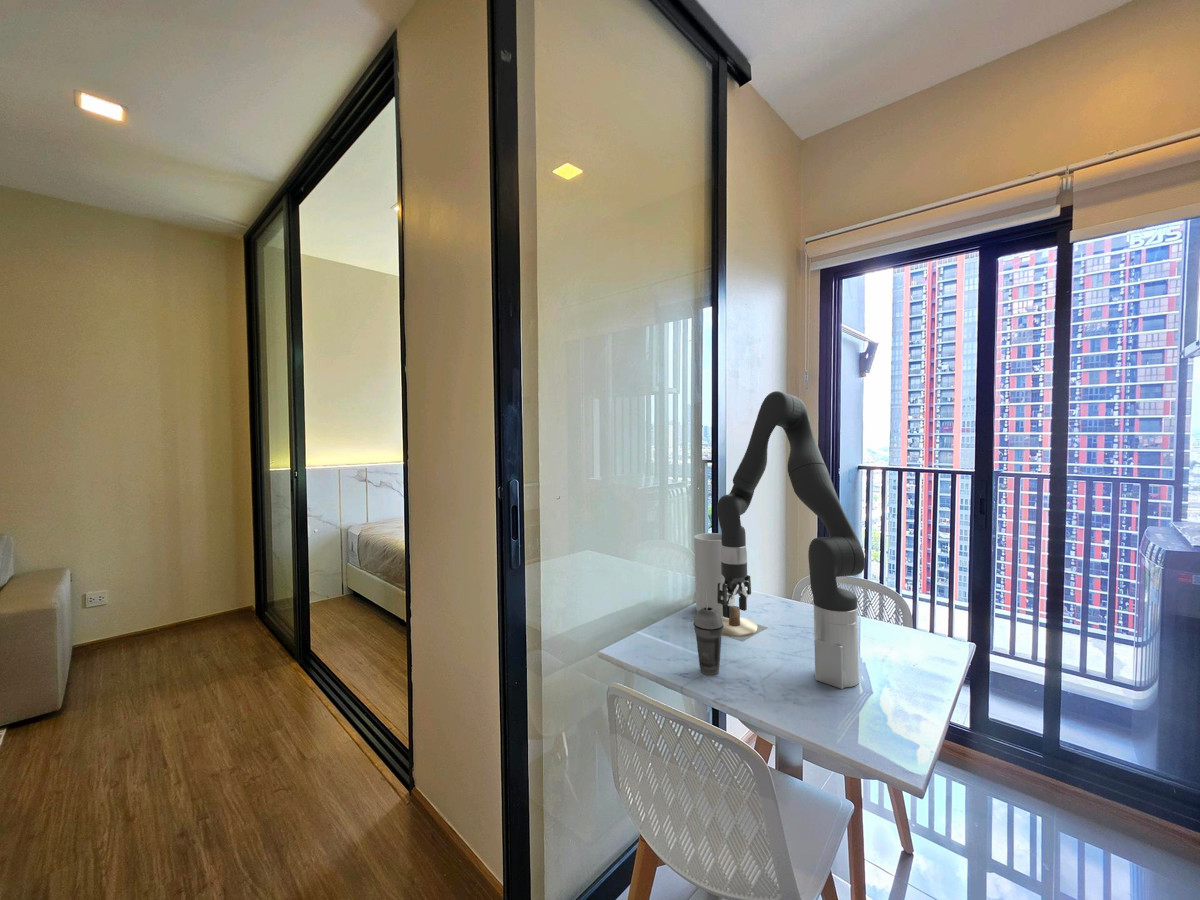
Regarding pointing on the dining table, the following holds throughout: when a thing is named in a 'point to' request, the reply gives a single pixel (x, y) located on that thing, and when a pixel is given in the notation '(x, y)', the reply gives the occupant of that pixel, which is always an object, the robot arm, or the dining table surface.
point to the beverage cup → (708, 639)
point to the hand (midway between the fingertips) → (735, 613)
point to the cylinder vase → (708, 570)
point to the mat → (743, 638)
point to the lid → (738, 624)
